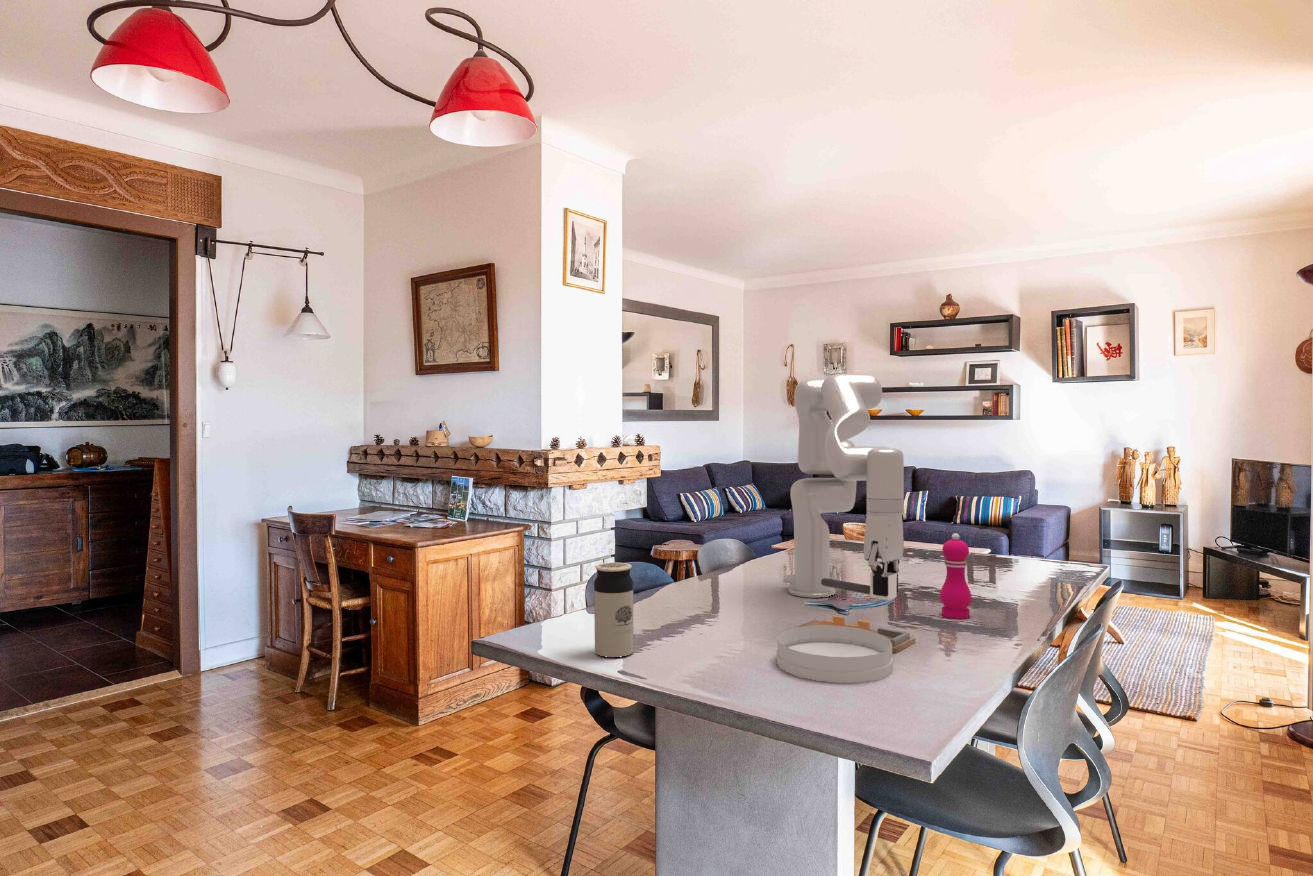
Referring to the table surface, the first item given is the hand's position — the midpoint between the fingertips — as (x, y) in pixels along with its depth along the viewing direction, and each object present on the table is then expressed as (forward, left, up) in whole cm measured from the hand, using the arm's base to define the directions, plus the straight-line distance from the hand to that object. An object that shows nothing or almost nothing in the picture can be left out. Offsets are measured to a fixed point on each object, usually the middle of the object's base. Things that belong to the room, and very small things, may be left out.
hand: (885, 592), depth 162 cm
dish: (-2, -19, -12) cm, 22 cm away
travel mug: (-40, -41, -11) cm, 58 cm away
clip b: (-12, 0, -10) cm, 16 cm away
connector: (-7, 0, -1) cm, 7 cm away
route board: (-8, 0, -11) cm, 13 cm away
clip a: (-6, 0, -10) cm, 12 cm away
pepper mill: (+3, +33, -11) cm, 35 cm away
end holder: (0, 0, -10) cm, 10 cm away
